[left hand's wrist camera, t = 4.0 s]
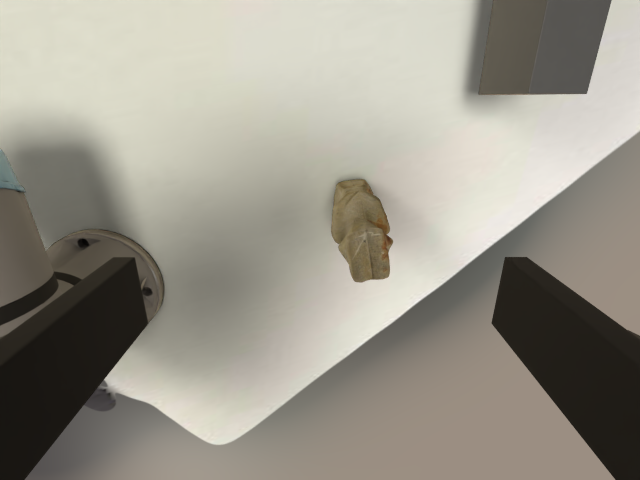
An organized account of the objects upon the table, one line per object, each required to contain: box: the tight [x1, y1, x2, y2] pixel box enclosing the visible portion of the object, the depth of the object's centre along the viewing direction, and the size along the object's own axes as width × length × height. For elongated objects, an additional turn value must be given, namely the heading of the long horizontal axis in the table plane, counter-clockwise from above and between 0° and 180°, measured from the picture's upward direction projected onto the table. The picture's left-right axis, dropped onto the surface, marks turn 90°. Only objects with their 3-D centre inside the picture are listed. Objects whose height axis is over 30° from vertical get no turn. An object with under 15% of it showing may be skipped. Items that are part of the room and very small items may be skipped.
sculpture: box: [331, 179, 393, 282], centre depth 37 cm, size 6×7×15 cm
